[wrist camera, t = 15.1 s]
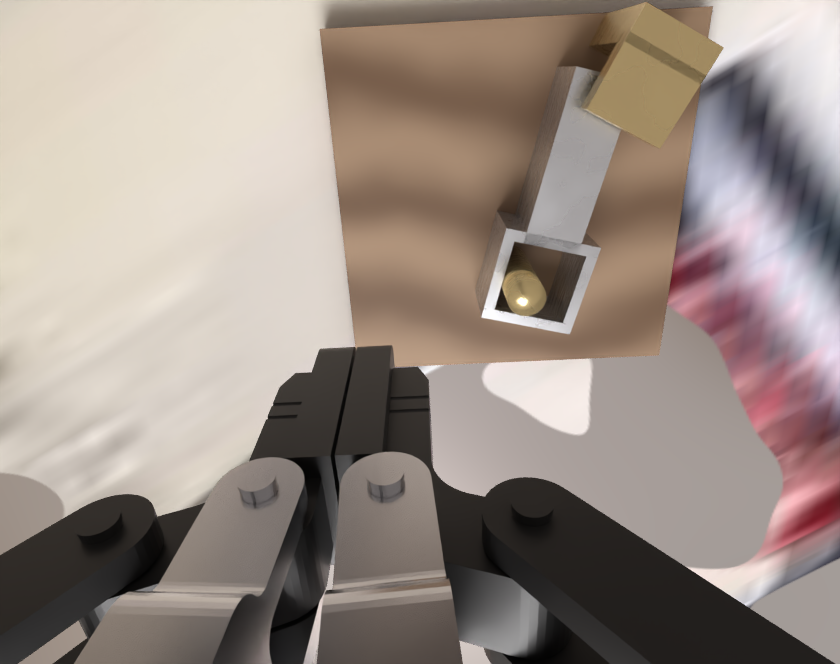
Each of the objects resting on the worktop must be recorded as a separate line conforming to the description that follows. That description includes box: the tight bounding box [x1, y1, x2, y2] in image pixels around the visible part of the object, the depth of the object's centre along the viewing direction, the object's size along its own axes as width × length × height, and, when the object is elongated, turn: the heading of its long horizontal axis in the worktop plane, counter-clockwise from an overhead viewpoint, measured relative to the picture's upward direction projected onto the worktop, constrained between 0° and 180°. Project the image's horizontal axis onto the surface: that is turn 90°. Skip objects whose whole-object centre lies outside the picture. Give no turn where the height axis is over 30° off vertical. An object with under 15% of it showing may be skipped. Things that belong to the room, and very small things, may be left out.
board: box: [320, 6, 713, 367], centre depth 33 cm, size 20×20×1 cm
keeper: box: [581, 2, 723, 149], centre depth 27 cm, size 5×4×6 cm
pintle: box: [501, 246, 546, 316], centre depth 31 cm, size 2×2×6 cm
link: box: [475, 66, 621, 334], centre depth 30 cm, size 13×5×4 cm, turn 168°
